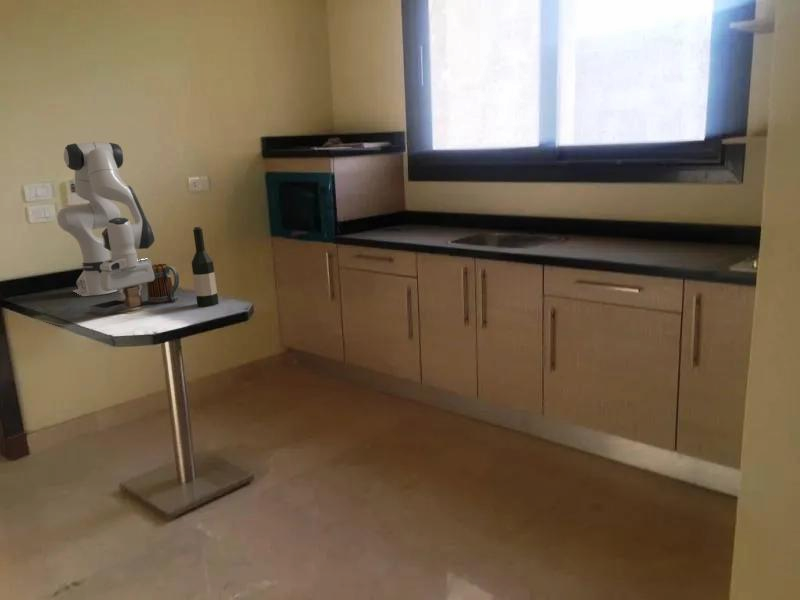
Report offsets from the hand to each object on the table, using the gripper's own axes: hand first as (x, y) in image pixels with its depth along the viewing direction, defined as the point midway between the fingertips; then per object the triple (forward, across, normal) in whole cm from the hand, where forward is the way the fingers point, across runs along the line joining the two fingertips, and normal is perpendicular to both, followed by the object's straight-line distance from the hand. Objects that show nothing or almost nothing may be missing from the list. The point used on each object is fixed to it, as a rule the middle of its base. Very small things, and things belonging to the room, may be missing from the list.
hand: (131, 297), depth 254 cm
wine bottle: (+6, -20, +19) cm, 28 cm away
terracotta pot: (+6, -6, -12) cm, 15 cm away
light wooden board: (+6, 0, 0) cm, 6 cm away
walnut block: (+3, 0, 0) cm, 3 cm away
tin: (+6, +4, -9) cm, 11 cm away
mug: (+6, -16, -1) cm, 17 cm away
